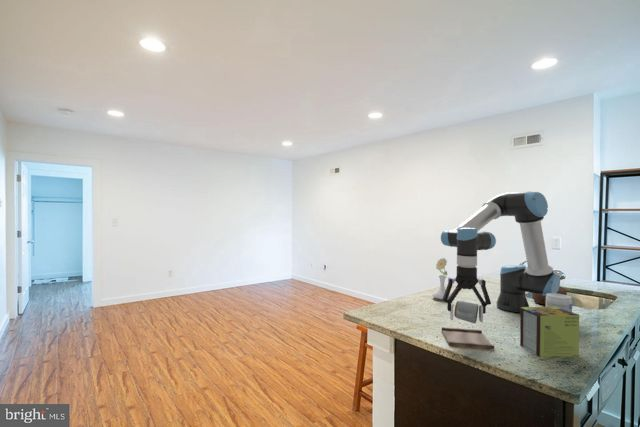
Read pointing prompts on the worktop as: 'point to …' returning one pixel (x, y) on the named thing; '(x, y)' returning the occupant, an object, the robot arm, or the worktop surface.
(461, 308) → the ceramic mug
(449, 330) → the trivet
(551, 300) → the supplement tub
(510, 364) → the worktop surface
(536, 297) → the bread
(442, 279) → the flower in vase
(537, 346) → the protein box
